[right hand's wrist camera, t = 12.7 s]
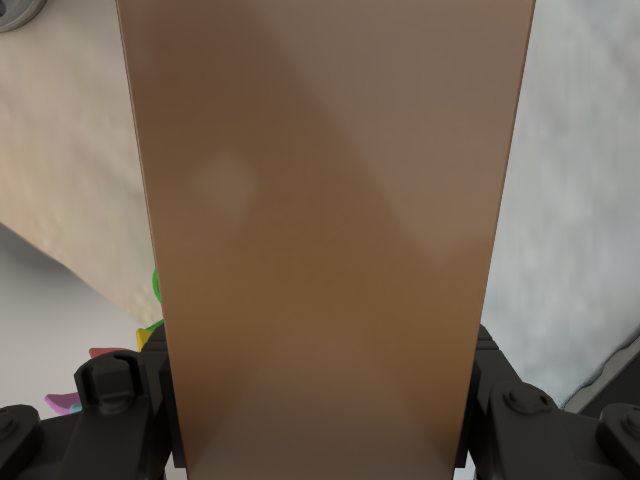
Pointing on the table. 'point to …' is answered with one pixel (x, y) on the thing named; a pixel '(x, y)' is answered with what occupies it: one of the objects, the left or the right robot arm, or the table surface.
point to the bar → (323, 221)
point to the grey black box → (611, 384)
